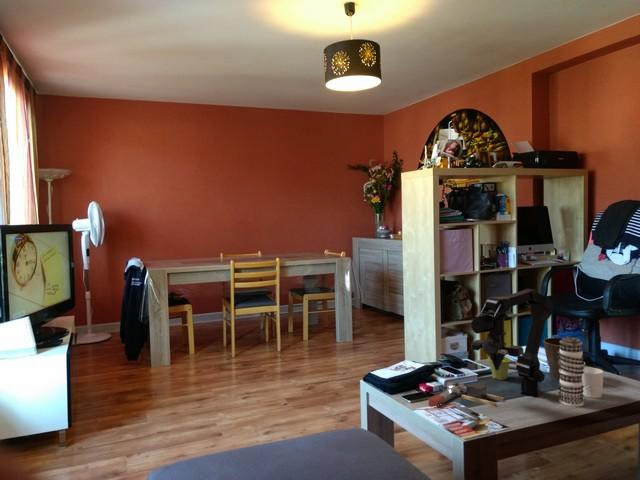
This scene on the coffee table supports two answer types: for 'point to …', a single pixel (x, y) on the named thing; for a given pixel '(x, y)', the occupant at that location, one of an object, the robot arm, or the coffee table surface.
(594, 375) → the white cup
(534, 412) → the coffee table surface
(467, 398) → the guide rails
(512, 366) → the c clamp
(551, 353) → the plant pot
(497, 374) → the plant pot
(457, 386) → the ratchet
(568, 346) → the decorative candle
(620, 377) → the coffee table surface
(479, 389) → the socket
